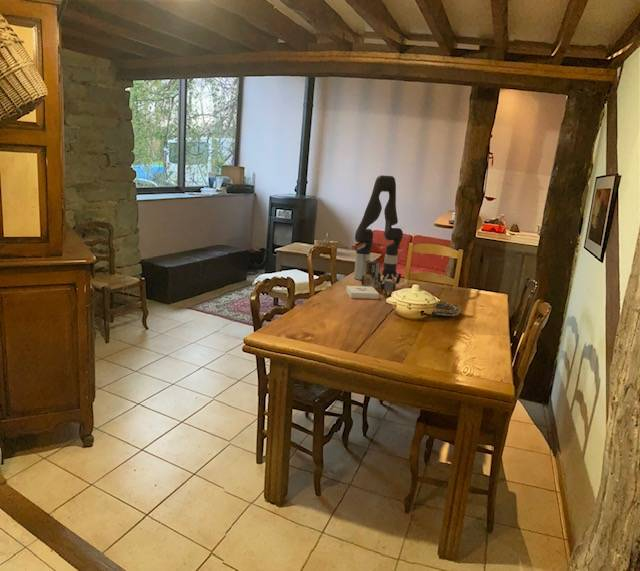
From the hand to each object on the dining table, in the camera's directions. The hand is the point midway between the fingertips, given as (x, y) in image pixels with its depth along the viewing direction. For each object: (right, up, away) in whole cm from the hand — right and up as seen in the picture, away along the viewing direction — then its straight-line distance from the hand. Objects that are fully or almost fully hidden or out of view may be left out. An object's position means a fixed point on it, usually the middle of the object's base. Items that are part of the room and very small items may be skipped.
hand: (387, 289), depth 284 cm
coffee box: (-9, +1, +15) cm, 18 cm away
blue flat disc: (+24, -13, -29) cm, 40 cm away
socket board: (-16, -3, -4) cm, 16 cm away
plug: (0, -3, +1) cm, 3 cm away
